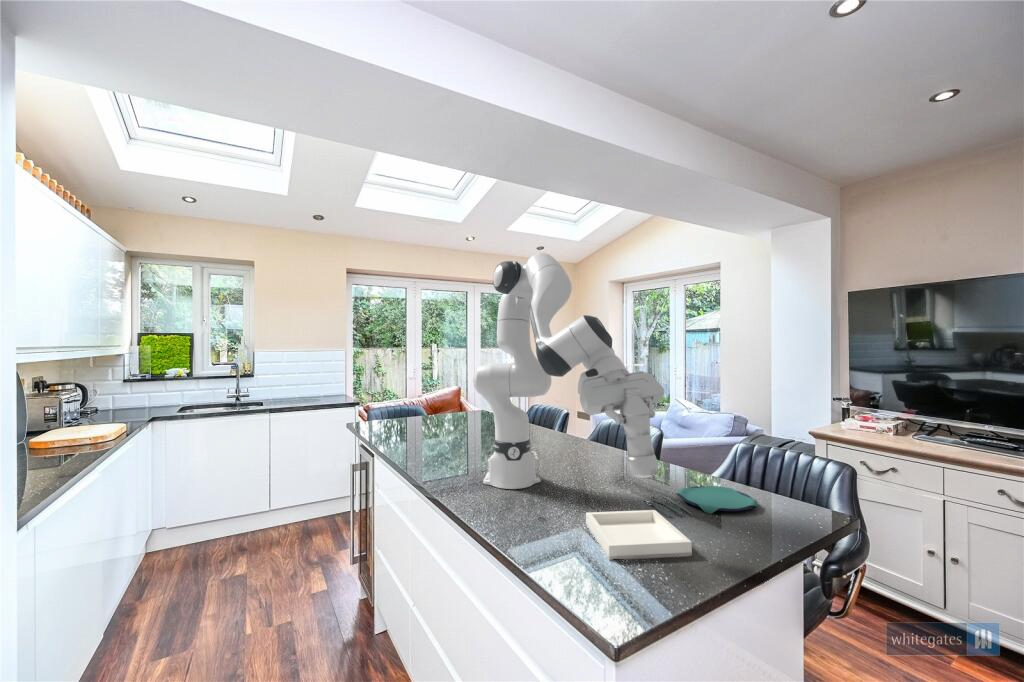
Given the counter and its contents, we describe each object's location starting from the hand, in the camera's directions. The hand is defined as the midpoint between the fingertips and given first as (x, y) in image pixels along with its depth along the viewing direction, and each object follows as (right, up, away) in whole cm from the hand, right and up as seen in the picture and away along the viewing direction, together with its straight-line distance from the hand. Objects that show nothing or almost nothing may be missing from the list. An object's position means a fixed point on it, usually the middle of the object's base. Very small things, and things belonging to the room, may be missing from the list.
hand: (636, 419), depth 97 cm
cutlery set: (+25, -29, +25) cm, 45 cm away
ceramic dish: (0, -28, +2) cm, 28 cm away
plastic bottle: (+1, -13, -1) cm, 13 cm away
